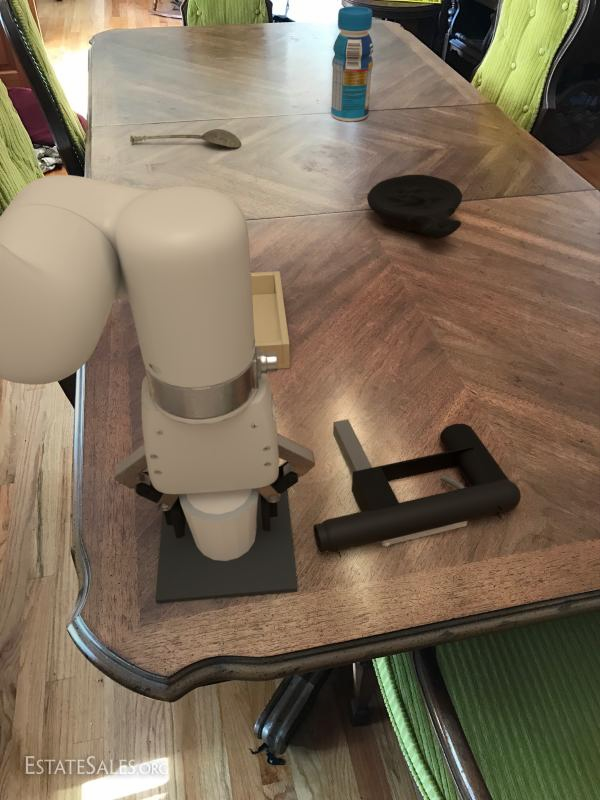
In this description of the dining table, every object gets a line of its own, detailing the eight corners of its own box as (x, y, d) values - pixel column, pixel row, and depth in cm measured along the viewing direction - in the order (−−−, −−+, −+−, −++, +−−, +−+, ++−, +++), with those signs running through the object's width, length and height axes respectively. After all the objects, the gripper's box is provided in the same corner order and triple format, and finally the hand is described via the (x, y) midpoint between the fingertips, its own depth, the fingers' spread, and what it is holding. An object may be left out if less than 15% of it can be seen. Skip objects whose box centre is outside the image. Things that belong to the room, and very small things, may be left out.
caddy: (158, 376, 73) (153, 351, 70) (166, 300, 84) (162, 276, 81) (289, 368, 74) (289, 343, 71) (280, 294, 85) (279, 271, 82)
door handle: (279, 427, 63) (325, 552, 52) (456, 392, 67) (536, 502, 56) (280, 449, 66) (325, 575, 54) (451, 414, 70) (528, 524, 58)
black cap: (391, 263, 91) (395, 232, 88) (354, 203, 105) (356, 175, 101) (484, 252, 93) (491, 222, 90) (436, 195, 107) (441, 167, 104)
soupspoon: (239, 155, 121) (242, 143, 126) (239, 137, 118) (242, 126, 123) (127, 149, 120) (135, 138, 125) (125, 131, 118) (133, 120, 123)
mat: (156, 603, 52) (155, 600, 52) (165, 491, 61) (164, 487, 60) (297, 591, 53) (297, 588, 52) (286, 481, 61) (286, 478, 61)
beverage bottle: (322, 116, 134) (325, 10, 120) (346, 106, 139) (352, 2, 125) (352, 125, 130) (359, 17, 116) (376, 115, 135) (385, 9, 121)
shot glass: (205, 580, 53) (196, 533, 48) (176, 521, 57) (165, 473, 52) (276, 546, 55) (274, 499, 50) (243, 493, 60) (239, 445, 55)
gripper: (320, 331, 46) (315, 481, 58) (83, 345, 45) (129, 495, 57) (334, 401, 40) (325, 549, 53) (64, 418, 39) (120, 566, 52)
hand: (223, 520), depth 55 cm, fingers closed on shot glass, 6 cm apart
